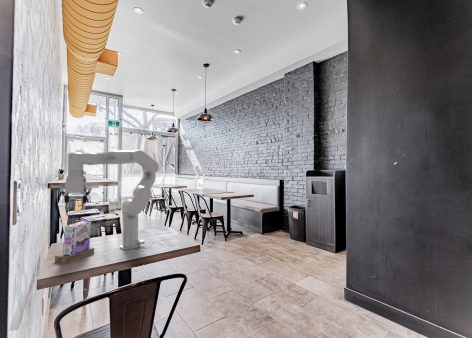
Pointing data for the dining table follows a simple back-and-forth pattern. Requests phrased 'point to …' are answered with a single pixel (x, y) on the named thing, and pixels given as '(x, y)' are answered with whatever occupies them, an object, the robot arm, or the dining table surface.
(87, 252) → the walnut plinth
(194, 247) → the dining table surface
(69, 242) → the candy box
